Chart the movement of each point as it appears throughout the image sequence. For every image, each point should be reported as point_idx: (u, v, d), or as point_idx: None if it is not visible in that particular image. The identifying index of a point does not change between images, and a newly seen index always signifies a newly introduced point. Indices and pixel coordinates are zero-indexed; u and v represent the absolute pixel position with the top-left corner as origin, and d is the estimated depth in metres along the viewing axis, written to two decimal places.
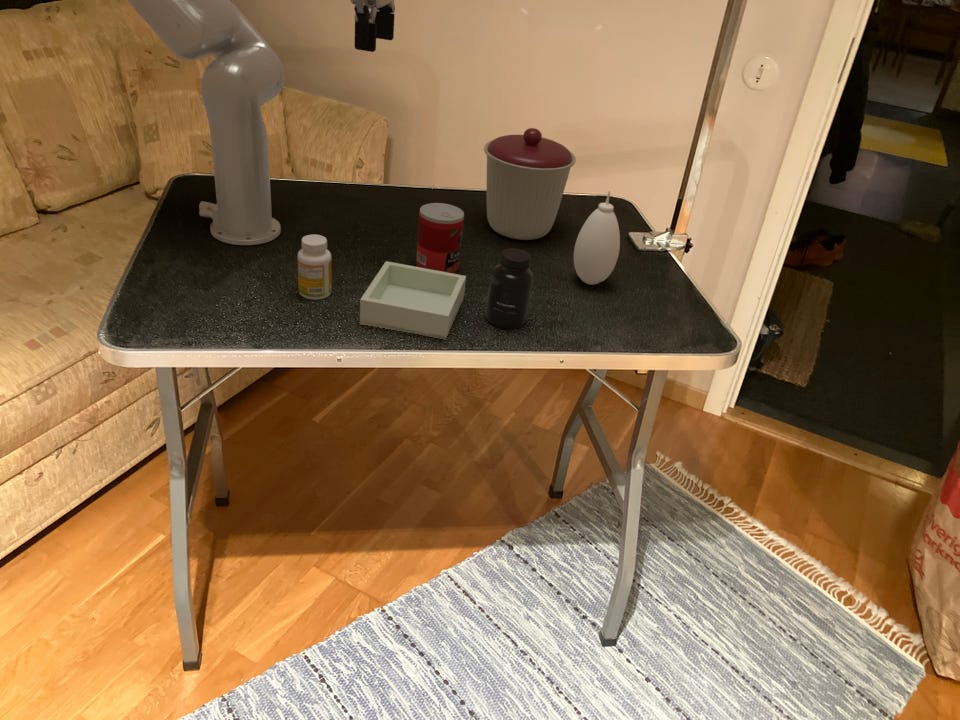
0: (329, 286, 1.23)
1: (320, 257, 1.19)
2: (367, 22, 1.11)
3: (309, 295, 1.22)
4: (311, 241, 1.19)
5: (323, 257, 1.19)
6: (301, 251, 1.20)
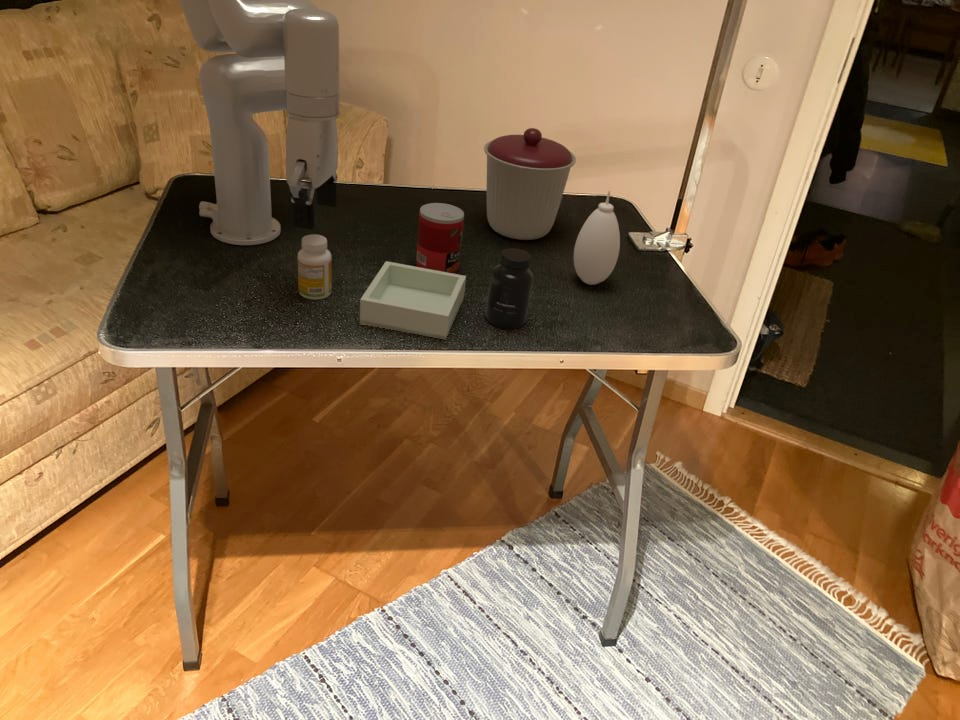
0: (329, 286, 1.23)
1: (320, 257, 1.19)
2: (304, 204, 1.09)
3: (309, 295, 1.22)
4: (311, 241, 1.19)
5: (323, 257, 1.20)
6: (301, 251, 1.20)
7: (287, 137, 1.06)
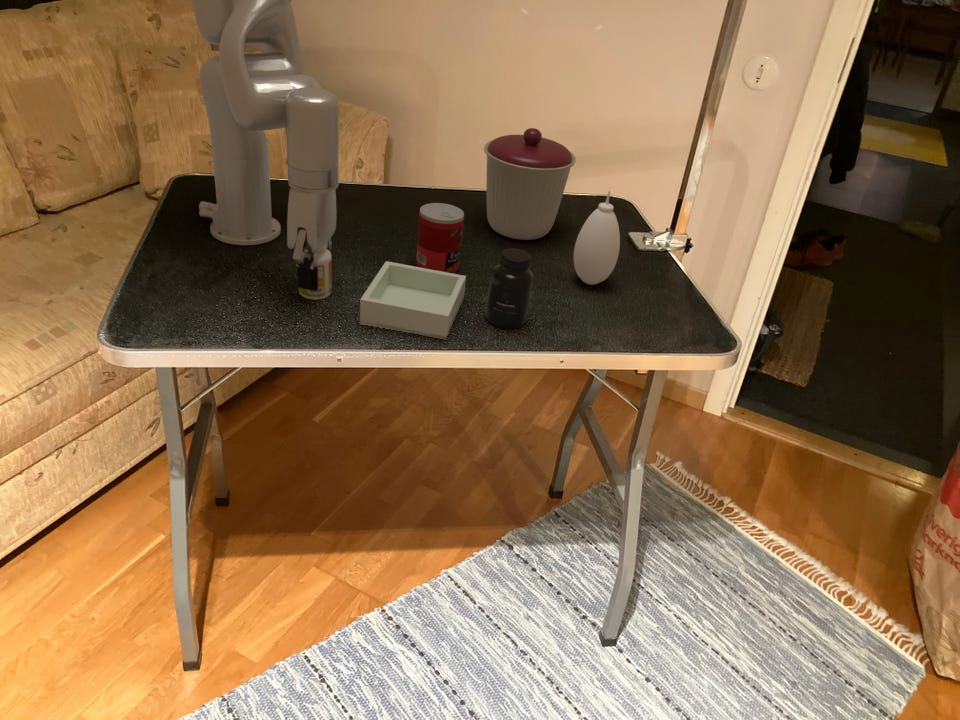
0: (329, 286, 1.23)
1: (320, 257, 1.19)
2: (308, 269, 1.18)
3: (309, 295, 1.22)
4: None
5: (323, 257, 1.20)
6: None
7: (288, 207, 1.12)
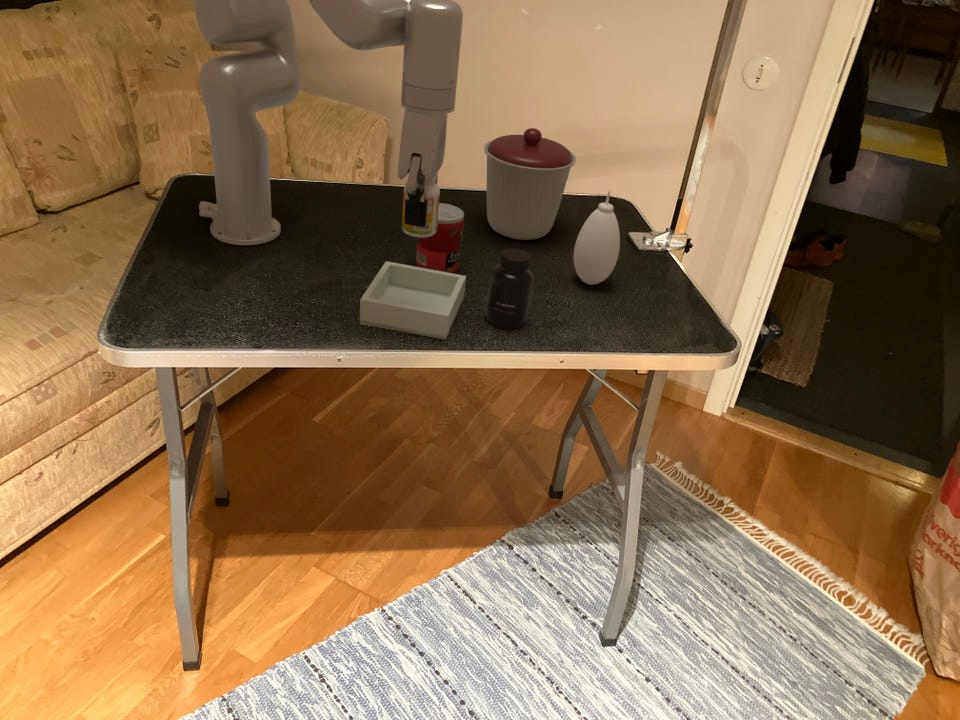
0: (436, 223, 1.14)
1: (430, 190, 1.10)
2: (418, 201, 1.08)
3: (415, 232, 1.13)
4: None
5: (433, 189, 1.10)
6: None
7: (403, 130, 1.03)
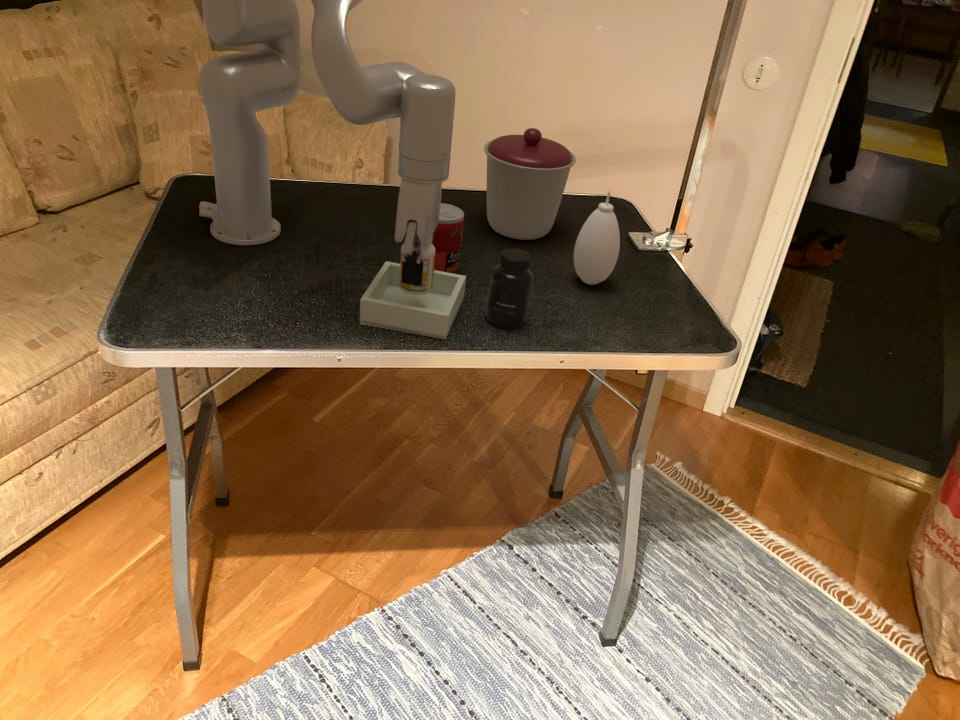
0: (432, 281, 1.19)
1: (425, 251, 1.15)
2: (415, 263, 1.14)
3: (412, 290, 1.18)
4: None
5: (428, 251, 1.15)
6: None
7: (399, 198, 1.08)
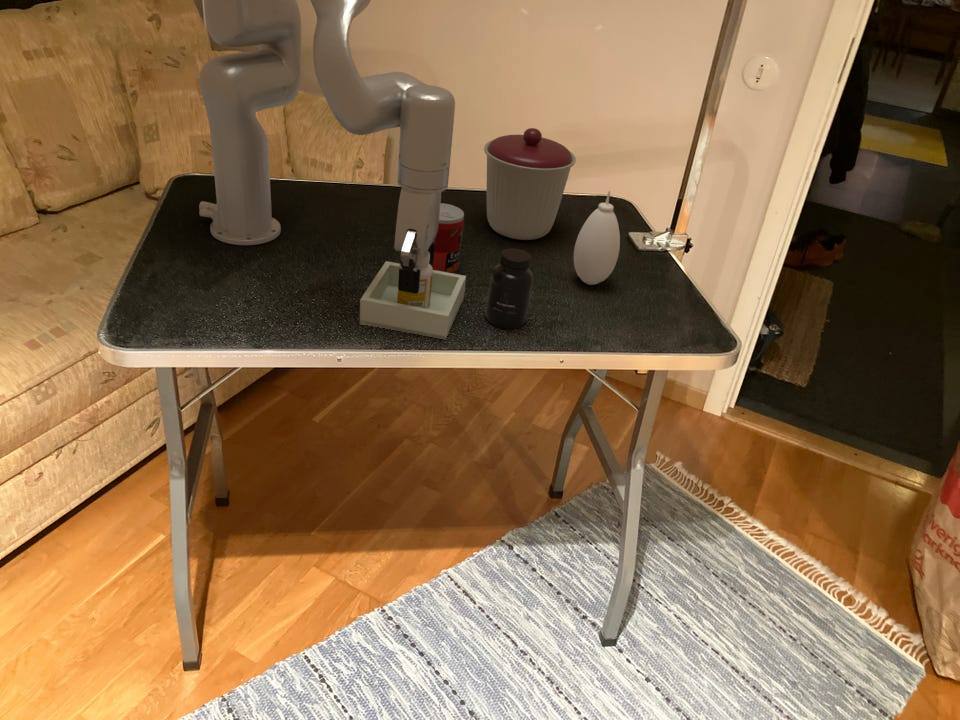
0: (429, 300, 1.21)
1: (423, 271, 1.17)
2: (411, 271, 1.12)
3: None
4: (415, 255, 1.17)
5: (426, 271, 1.18)
6: None
7: (399, 208, 1.09)
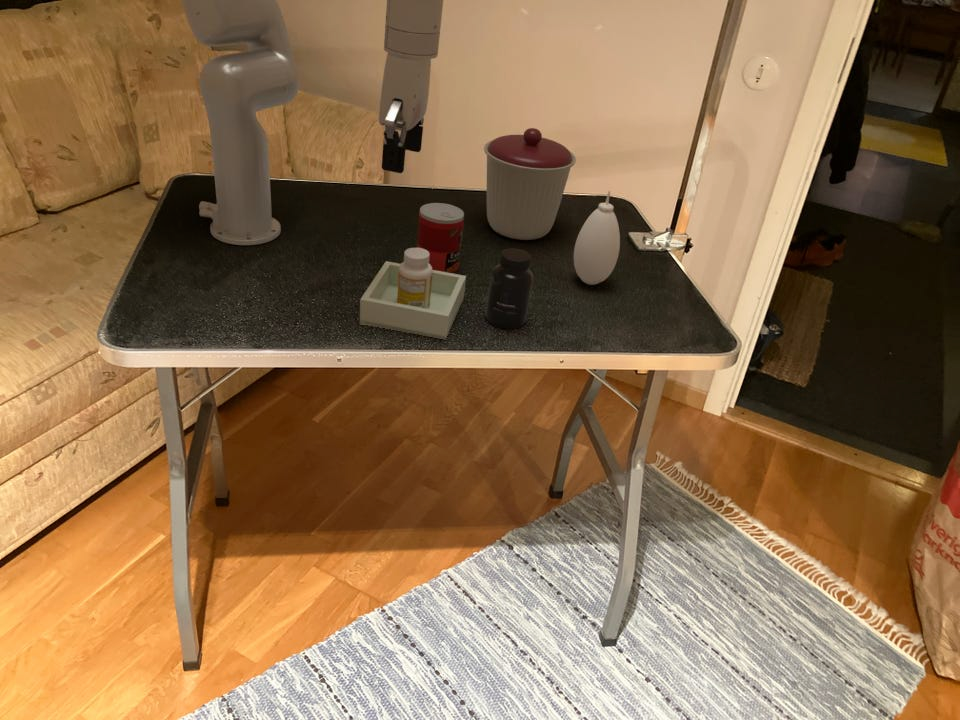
0: (429, 300, 1.21)
1: (422, 271, 1.17)
2: (396, 146, 1.06)
3: None
4: (415, 255, 1.17)
5: (425, 271, 1.18)
6: (403, 264, 1.18)
7: (385, 74, 1.02)
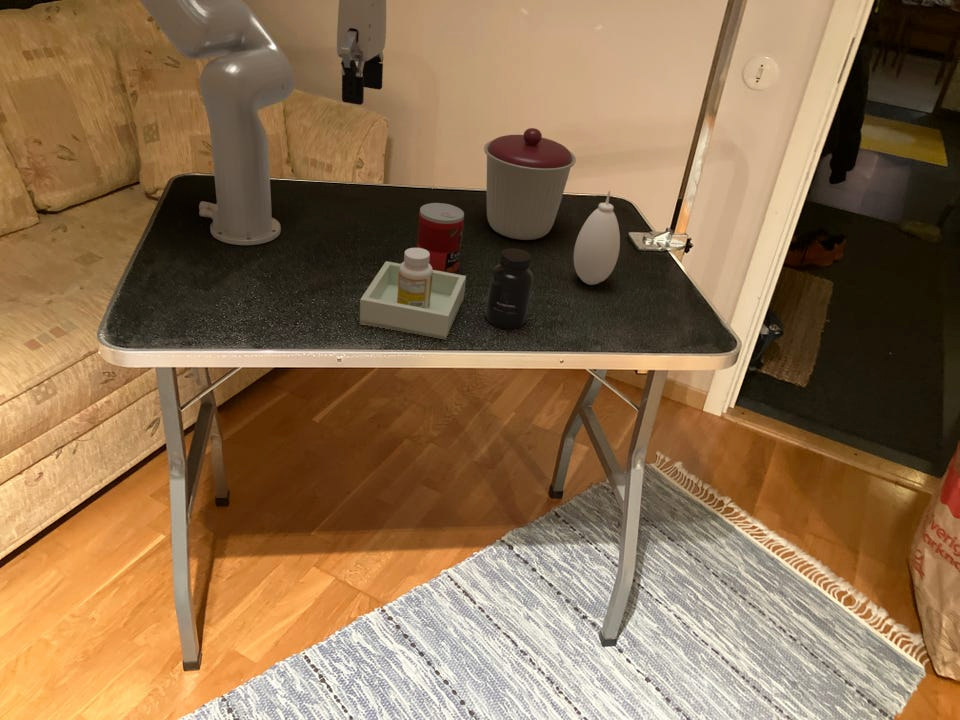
0: (429, 300, 1.21)
1: (423, 271, 1.17)
2: (354, 76, 1.09)
3: None
4: (415, 255, 1.17)
5: (426, 271, 1.18)
6: (403, 264, 1.18)
7: (340, 5, 1.06)
